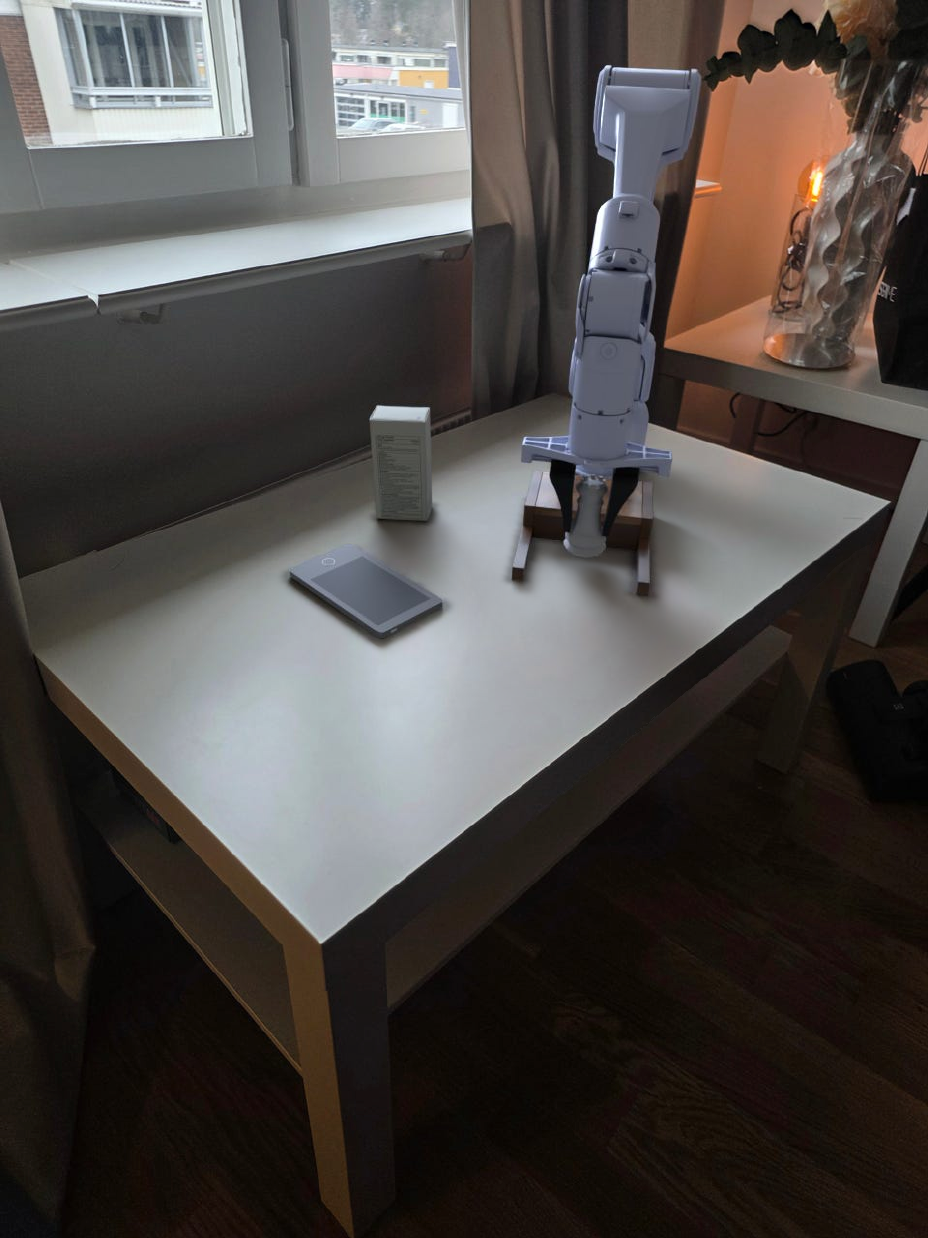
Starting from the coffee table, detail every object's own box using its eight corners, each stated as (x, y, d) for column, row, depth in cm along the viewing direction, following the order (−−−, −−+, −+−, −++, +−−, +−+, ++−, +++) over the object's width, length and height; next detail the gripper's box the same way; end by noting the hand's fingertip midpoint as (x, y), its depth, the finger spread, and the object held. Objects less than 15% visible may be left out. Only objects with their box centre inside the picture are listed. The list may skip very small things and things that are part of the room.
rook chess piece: (578, 563, 86) (587, 493, 81) (555, 542, 89) (562, 474, 85) (613, 553, 88) (624, 484, 83) (589, 534, 91) (598, 466, 86)
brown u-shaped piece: (647, 595, 85) (654, 561, 83) (511, 579, 87) (513, 546, 85) (647, 512, 100) (652, 482, 97) (530, 500, 101) (533, 470, 99)
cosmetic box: (433, 505, 100) (433, 406, 93) (428, 522, 96) (428, 421, 89) (379, 501, 100) (376, 402, 93) (372, 518, 97) (368, 417, 89)
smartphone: (446, 606, 82) (446, 600, 82) (381, 640, 78) (381, 633, 77) (351, 547, 91) (350, 542, 90) (287, 575, 86) (287, 569, 86)
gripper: (521, 413, 77) (512, 541, 85) (681, 428, 75) (657, 557, 83) (529, 386, 83) (520, 508, 91) (679, 399, 81) (656, 523, 89)
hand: (586, 529), depth 87 cm, fingers closed on rook chess piece, 3 cm apart
